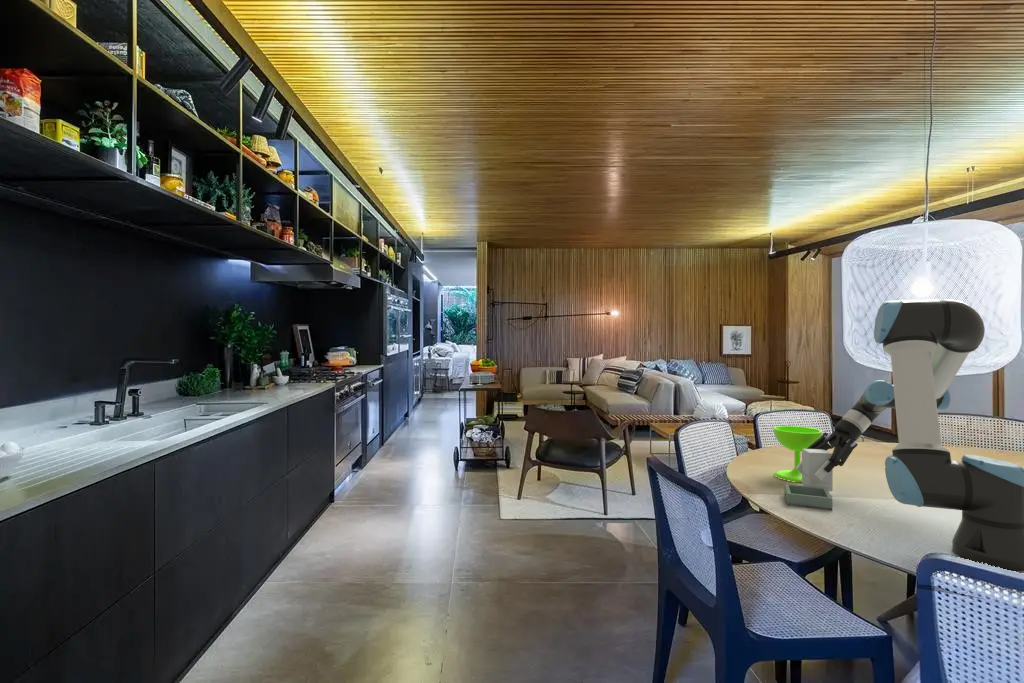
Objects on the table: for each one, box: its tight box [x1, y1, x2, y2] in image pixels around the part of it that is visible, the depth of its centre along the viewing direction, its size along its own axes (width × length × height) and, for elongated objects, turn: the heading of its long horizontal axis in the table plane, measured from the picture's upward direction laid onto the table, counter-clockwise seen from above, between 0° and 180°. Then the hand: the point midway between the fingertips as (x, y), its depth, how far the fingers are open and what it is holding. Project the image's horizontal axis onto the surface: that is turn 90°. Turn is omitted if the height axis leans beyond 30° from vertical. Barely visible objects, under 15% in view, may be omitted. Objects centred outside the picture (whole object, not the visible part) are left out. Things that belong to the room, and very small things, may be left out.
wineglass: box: [773, 425, 823, 482], centre depth 197 cm, size 16×16×18 cm
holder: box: [784, 483, 833, 511], centre depth 167 cm, size 12×12×4 cm
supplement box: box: [801, 449, 834, 492], centre depth 179 cm, size 7×7×13 cm
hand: (807, 474), depth 178 cm, fingers closed on supplement box, 9 cm apart
